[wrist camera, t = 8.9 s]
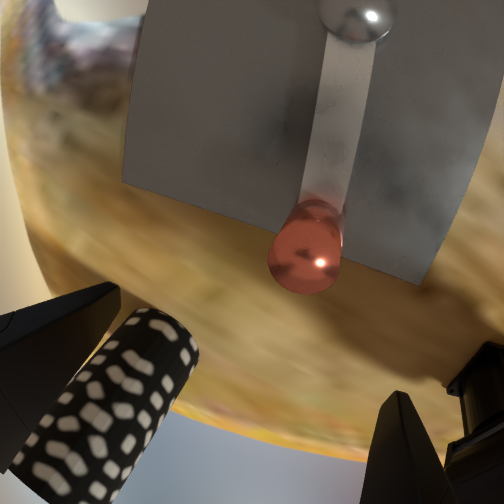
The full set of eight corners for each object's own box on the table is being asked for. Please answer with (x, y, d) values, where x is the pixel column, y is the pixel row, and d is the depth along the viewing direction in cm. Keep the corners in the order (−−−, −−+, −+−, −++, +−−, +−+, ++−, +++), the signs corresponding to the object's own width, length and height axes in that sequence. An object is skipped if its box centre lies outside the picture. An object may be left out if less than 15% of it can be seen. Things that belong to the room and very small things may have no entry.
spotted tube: (150, 367, 34) (54, 503, 17) (115, 309, 31) (-12, 448, 14) (211, 372, 31) (114, 543, 14) (177, 306, 28) (34, 493, 11)
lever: (330, -71, 10) (317, -121, 5) (397, -58, 9) (408, -106, 5) (282, 233, 20) (256, 281, 15) (342, 249, 19) (335, 303, 14)
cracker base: (417, 277, 20) (426, 319, 16) (130, 178, 23) (90, 197, 19) (511, -17, 8) (541, -35, 5) (186, -89, 12) (153, -113, 8)
